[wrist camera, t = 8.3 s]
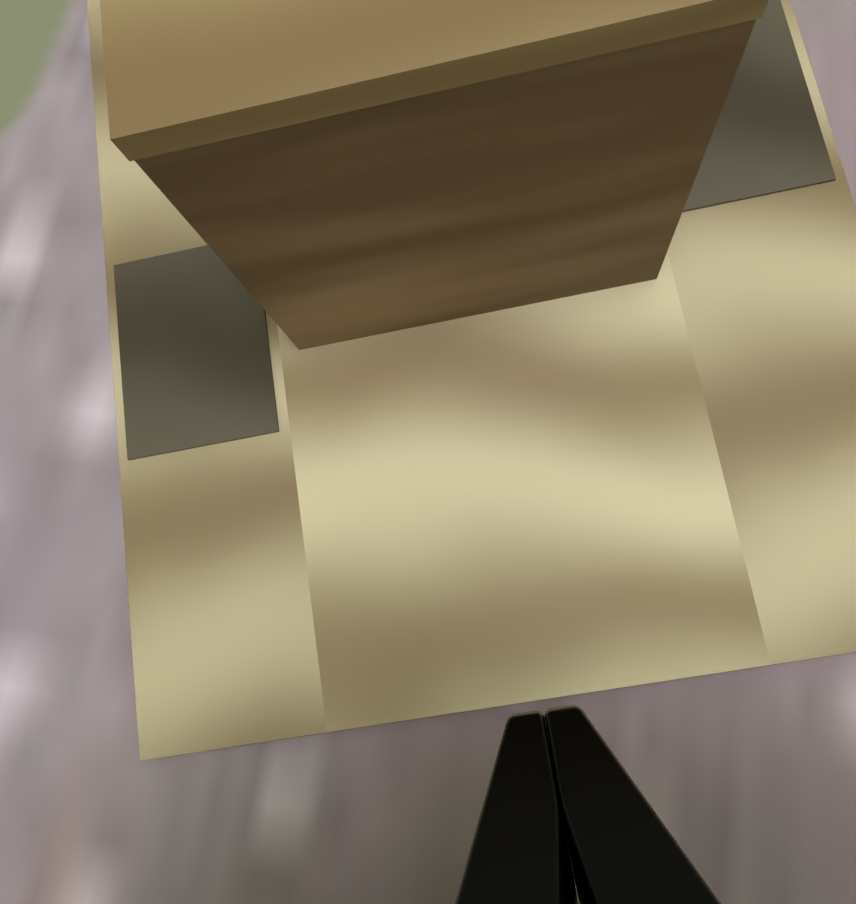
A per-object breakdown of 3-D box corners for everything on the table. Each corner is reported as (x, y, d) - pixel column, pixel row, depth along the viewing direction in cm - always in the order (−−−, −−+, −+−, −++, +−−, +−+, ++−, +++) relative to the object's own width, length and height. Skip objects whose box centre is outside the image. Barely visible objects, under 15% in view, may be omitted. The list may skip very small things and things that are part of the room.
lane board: (976, 630, 18) (1096, 636, 15) (149, 757, 20) (59, 791, 16) (714, -210, 24) (750, -367, 20) (90, -51, 26) (14, -167, 22)
